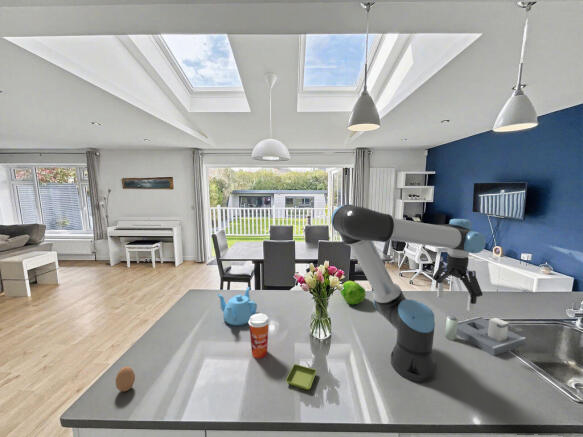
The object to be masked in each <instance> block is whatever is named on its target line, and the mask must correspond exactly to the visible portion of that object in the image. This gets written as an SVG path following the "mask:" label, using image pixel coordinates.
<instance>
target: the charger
mask: <svg viewBox="0 0 583 437" xmlns="http://www.w3.org/2000/svg"><path fill="white" fill-rule="evenodd" d="M488 321H489V327H488V336H489V337H491V338H493V339H495V340H497V341H499V342H502V341H505V340H507V331H508V330H509V322H507V321H505V320H503V319H501V318H498V317H493V318H491V319H488Z"/></svg>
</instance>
